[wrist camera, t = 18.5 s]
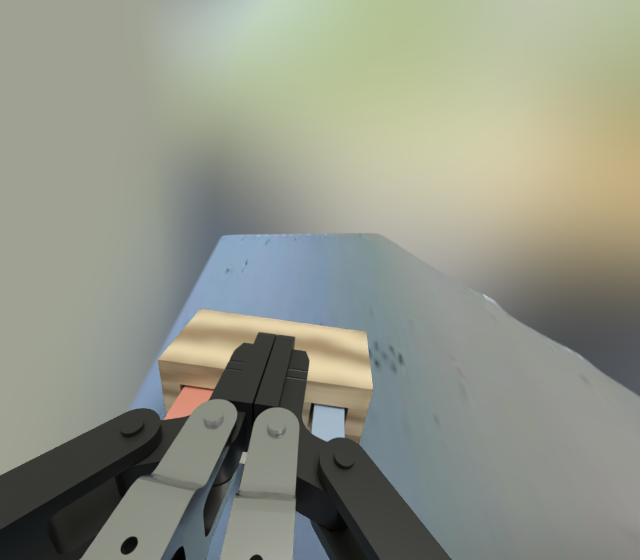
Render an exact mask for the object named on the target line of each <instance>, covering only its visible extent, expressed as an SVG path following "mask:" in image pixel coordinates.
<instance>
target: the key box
mask: <svg viewBox="0 0 640 560" xmlns="http://www.w3.org/2000/svg"><path fill="white" fill-rule="evenodd" d="M258 332H264V333H271V334H277V335H278V334H279V335H286V336H293V337H295V347H294V349H295V350H302V351H306V353H307V355H308V358H309V360H310V362H309V369H308V377H307V385H306V392H305V399H304V406H303V412H302V420H303V423H304V425H305V427H306V428H307V429H308V430H309V431H310V432H311V424H312V415H313V406H314V403H316V404H323V405H330V406H338V407H344V430H345V438H348V439H351V440H353V441H355V442H356V443H358V444H359V442H360V438H361V434H362V430H363V426H364V423H365V419H366V415H367V411H368V407H369V404H370V400H371V396H372V392H373V384H372V376H371V368H370V360H369V352H368V344H367V335H366V332H364V331H356V330H349V329H342V328H335V327H327V326H320V325H313V324H306V323H298V322H291V321H284V320H277V319H269V318H262V317H255V316H248V315H240V314H233V313H226V312H219V311H211V310H204V309H200V310H199V311H198V312H197V314H196V315H195V316H194V317H193V318H192V319H191V321H190V322H189V323H188V324H187V325H186V327H185V328H184V329H183V330H182V331H181V333H180V334H179V335H178V336H177V337H176V339H175V340H174V341H173V342H172V343H171V345H170V346H169V347H168V348H167V349H166V350H165V352H164V353H163V354H162V355H161V356H160V358H159V359H158V363H159V370H160V377H161V383H162V390H163V397H164V403H165V410H166V415H167V413H168V412H169V410H170V409H171V407H172V405H173V404H174V402H175V401H176V399H177V398H178V396H179V394H180V393H181V391H182V390H183V388H184V387H185V385H189V386H196V387H203V388H210V389H215V387H216V385H217V383H218V381H219V379H220V377H221V375H222V373H223V371H224V369H225V367H226V365H227V364H228V362H229V360H230V358H231V356H232V354H233V352H234V350H235V349H236V348H238V347H239V346H240V345H241V344H243V343H251V344H253V343H254V341H255V339H256V337H257V334H258Z"/></svg>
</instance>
